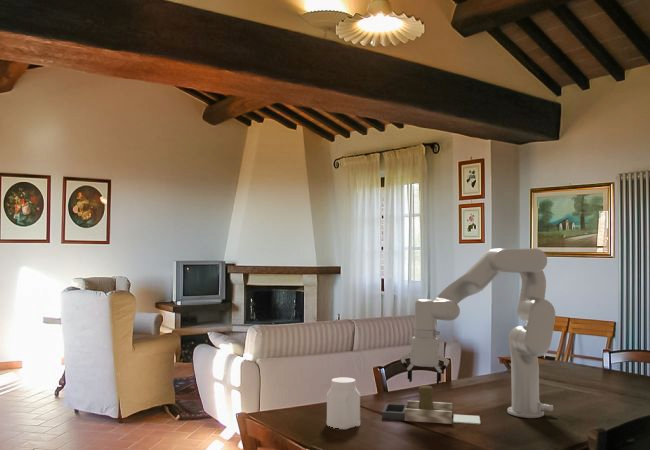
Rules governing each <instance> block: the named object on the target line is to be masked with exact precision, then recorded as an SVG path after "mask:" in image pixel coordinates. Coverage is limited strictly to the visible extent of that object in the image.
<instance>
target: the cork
mask: <svg viewBox="0 0 650 450" xmlns="http://www.w3.org/2000/svg"><path fill="white" fill-rule="evenodd" d="M418 394H419V400H418V401H419V409H424V410H434V408H433V402H434V401H433V395H434V389H433V387H432V386H430V385H421V386H419V387H418Z"/></svg>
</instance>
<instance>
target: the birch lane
mask: <svg viewBox="0 0 650 450" xmlns="http://www.w3.org/2000/svg"><path fill="white" fill-rule="evenodd" d="M419 401H420V400H407V403H406V405H408V408H405V421H404V422H420V423H421V422H422V423H433V424H435V423H437V424H447V425H449V424H453V417H452V416H453V402H439V401H433V408H434V410H424V409H419Z"/></svg>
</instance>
